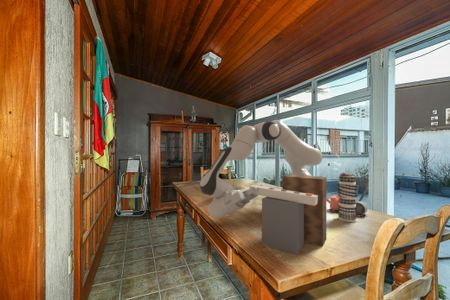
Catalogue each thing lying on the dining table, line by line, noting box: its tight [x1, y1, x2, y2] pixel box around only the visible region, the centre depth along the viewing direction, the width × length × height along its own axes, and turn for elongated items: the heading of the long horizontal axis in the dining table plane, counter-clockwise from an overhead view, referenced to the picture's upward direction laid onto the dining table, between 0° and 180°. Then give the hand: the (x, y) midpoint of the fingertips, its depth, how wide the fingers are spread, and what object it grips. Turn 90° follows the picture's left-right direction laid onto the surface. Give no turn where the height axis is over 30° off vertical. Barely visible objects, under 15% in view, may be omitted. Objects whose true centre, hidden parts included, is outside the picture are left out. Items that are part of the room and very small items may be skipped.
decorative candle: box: [337, 172, 358, 223], centre depth 111 cm, size 9×9×25 cm
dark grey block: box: [261, 196, 305, 255], centre depth 81 cm, size 14×8×18 cm, turn 54°
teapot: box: [326, 194, 340, 212], centre depth 128 cm, size 12×12×10 cm
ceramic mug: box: [355, 200, 368, 217], centre depth 121 cm, size 11×8×8 cm
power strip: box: [249, 184, 318, 206], centre depth 81 cm, size 26×4×4 cm, turn 55°
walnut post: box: [281, 174, 327, 247], centre depth 87 cm, size 16×8×26 cm, turn 54°
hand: (259, 187), depth 86 cm, fingers closed on power strip, 4 cm apart
